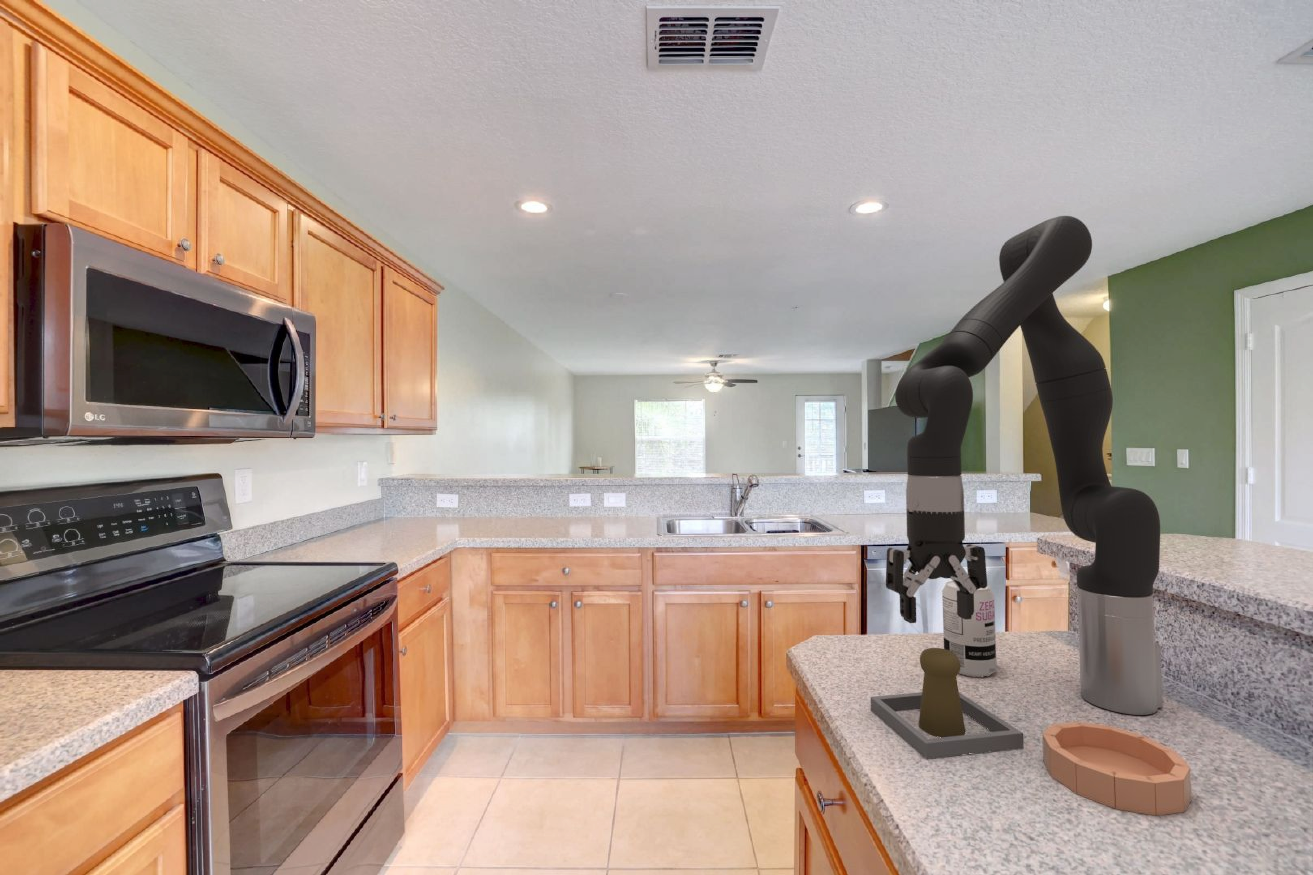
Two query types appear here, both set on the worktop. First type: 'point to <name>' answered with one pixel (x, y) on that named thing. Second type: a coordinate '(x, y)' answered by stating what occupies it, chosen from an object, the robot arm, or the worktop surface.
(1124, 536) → the robot arm
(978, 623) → the supplement can
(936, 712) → the olive pestle
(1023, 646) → the worktop surface
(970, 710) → the rectangular frame
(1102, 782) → the bowl
